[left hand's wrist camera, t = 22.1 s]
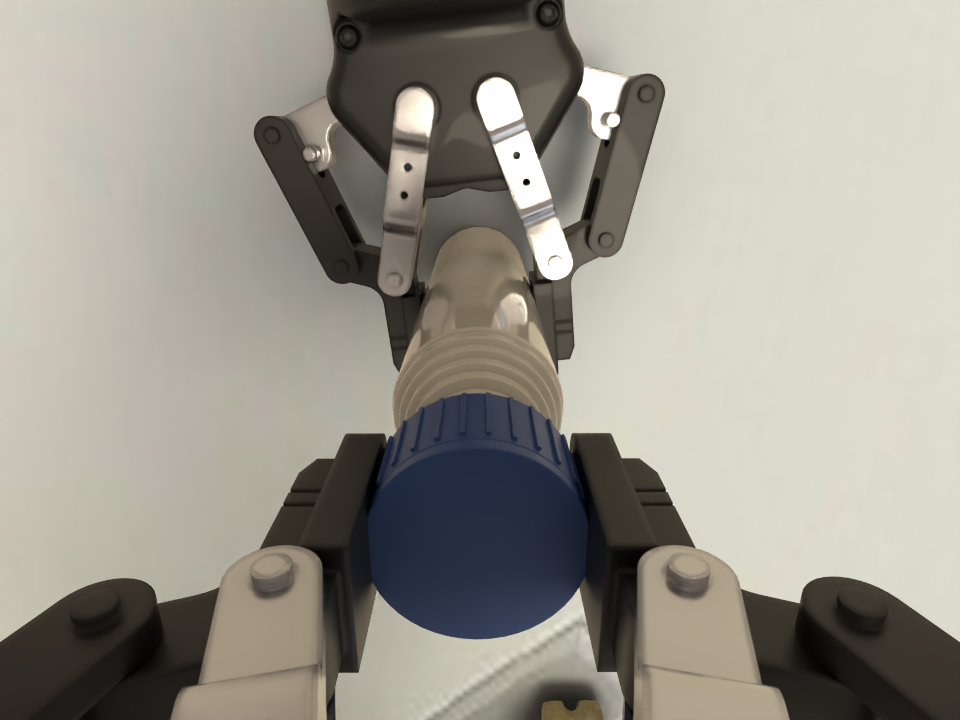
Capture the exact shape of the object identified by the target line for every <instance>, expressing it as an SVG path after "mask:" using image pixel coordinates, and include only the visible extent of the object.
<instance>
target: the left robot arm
mask: <svg viewBox="0 0 960 720" xmlns="http://www.w3.org/2000/svg"><path fill="white" fill-rule="evenodd" d="M386 446H387V442H386V436H385V434H346V435H345V436H344V439H343V441H342V443H341V446H340V448H339V450H338V452H337V455H336V457H335V459H317V460H315V461H314V462H313V463H311V464H310V465H309V466H307V467H306V468H305V469H304V470H302V471H301V472H300V473H299V474H298V476H297V478H296V480H295V482H294V484H293V486H292V488H291V492H290V493H288V495H287V497H286V499H285V501H284V506H283V507H281V509H280V511H279V513H278V515H277V517H276V519H275V521H274V522H273V524H272V526H271V528H270V530H269V532H268V534H267V536H266V538H265V540H264V542H263V544H262V546H261V548H260V550H257V551H255V552H252V553H250V554H248V555H246V556H244V557H243V558H241V559H240V560H238V561H237V562H235V563H234V564H233V565H232V566H231V567H230V568H229V569H228V570H227V571H226V573H225V574H224V576H223V578H222V581H221V584H220V587H219V588H217V589H214V590H212V591H209V592H206V593H203V594H199V595H195V596H190V597H186V598H181V599H177V600H172V601H168V602H163V603H159V604H158V603H157V599H156V595H155V591H154V589H153V588H152V587H151V586H150V585H149V584H147V583H146V582H143V581H141V580H137V579H129V578H121V579H112V580H106V581H102V582H98V583H95V584H92V585H89V586H86V587H84V588H81V589H79V590H77V591H75V592H73V593H71V594H69V595H67V596H66V597H64V598H63V599H61V600H60V601H58V602H57V603H55V604H54V605H52V606H51V607H50V608H48V609H47V610H45V611H44V612H42V613H41V614H40V615H38V616H37V617H35V618H34V619H33V620H31V621H30V622H28V623H27V624H25V625H24V626H23V627H21V628H20V629H18V630H17V631H15V632H14V633H13V634H11V635H10V636H8V637H7V638H5V639H4V640H3V641H1V642H0V720H338V712H337V702H336V692H335V685H336V681H337V677H338V673H358V672H359V668H360V663H361V659H362V654H363V650H364V645H365V641H366V636H367V632H368V627H369V622H370V618H371V613H372V609H373V604H374V600H375V595H376V591H377V589H376V587H375V586H374V584H373V582H372V576H371V562H370V549H369V535H368V520H367V514H368V511H369V507H370V504H371V500H372V497H373V494H374V490H375V487H376V480H377V476H378V473H379V469H380V466H381V463H382V459H383V456H384V452H385V449H386ZM570 453H573V457H574V461H575V464H576V468H577V471H578V475H579V478H580V482H581V486H582V489H583V493H584V496H585V503H584V505H585V509H586V513H587V516H588V521H589V525H588V540H587V554H586V569H585V577H584V579H583V581H582V583H581V585H580V587H579V588H580V593H581V597H582V602H583V607H584V611H585V616H586V621H587V625H588V630H589V635H590V640H591V644H592V649H593V654H594V658H595V663H596V668H597V672H617V674H618V678H619V682H620V686H621V690H622V693H623V696H624V702H623V712H622V720H960V642H959V641H957V640H956V639H955V638H953V637H952V636H950V635H949V634H947V633H946V632H945V631H943V630H942V629H940V628H939V627H937V626H936V625H935V624H933V623H932V622H930V621H929V620H927V619H926V618H925V617H923V616H922V615H920V614H919V613H918V612H916V611H915V610H913V609H912V608H910V607H909V606H908V605H906V604H905V603H903V602H902V601H900V600H899V599H898V598H896V597H894V596H893V595H891V594H890V593H888V592H886V591H884V590H882V589H880V588H878V587H876V586H873V585H871V584H868V583H865V582H862V581H859V580H855V579H851V578H844V577H822V578H818V579H815V580H813V581H811V582H809V583H808V584H807V585H806V586H805V587H804V589H803V592H802V596H801V600H800V603H795V602H790V601H786V600H781V599H777V598H772V597H768V596H763V595H759V594H755V593H751V592H748V591H745V590H743V589H741V588H740V584H739V581H738V578H737V576H736V574H735V573H734V571H733V570H732V569H731V568H730V567H729V566H728V565H727V564H726V563H725V562H723V561H722V560H720V559H719V558H717V557H716V556H714V555H712V554H710V553H708V552H705V551H703V550H700V549H696V548H695V546H694V544H693V542H692V540H691V538H690V536H689V534H688V532H687V530H686V528H685V526H684V524H683V522H682V520H681V518H680V516H679V514H678V512H677V510H676V508H675V506H673V502H672V500H671V498H670V496H669V495H668V493H667V492H666V489H665V487H664V485H663V483H662V481H661V479H660V477H659V475H658V473H657V472H656V471H655V470H653V469H652V468H651V467H650V466H648V465H647V464H646V463H644V462H643V461H642V460H641V459H639V458H621V456H620V453H619V451H618V449H617V446H616V444H615V442H614V439H613V437H612V435H611V434H610V433H572V435H571V440H570Z"/></svg>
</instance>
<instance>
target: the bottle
mask: <svg viewBox="0 0 960 720" xmlns="http://www.w3.org/2000/svg"><path fill="white" fill-rule="evenodd" d="M486 392H488V393H490V394H494V395H500V396H505V397H508V398H509V397H513V399H514V400H517V401H519V402H521V403H524V404H526V405H528V406H530V405H531V406H533V407H534V408H535V410H536V411H538V412H539V413H541V414H542V415H543V416H544V417H545V418H547V419H548V418H550V419H551V420H552V423H553V425H554V427H555V428H556V429H557V430H558V431H560V428H561V422H562V415H563V394H562V389H561V385H560V381H559V378H558V375H557V372H556V368H555V365H554V362H553V359H552V356H551V352H550V349H549V346H548V343H547V339H546V336H545V333H544V330H543V327H542V323H541V320H540V317H539V314H538V310H537V307H536V304H535V301H534V298H533V294H532V291H531V288H530V285H529V282H528V278H527V275H526V272H525V269H524V265H523V262H522V259H521V256H520V254H519V251H518V249H517V248H516V246H515V245H514V243H513V242H512V241H511V240H510V239H509V238H508V237H507V236H505V235H504V234H503V233H501V232H499V231H497V230H494V229H491V228H487V227H471V228H467V229H463V230H461V231H459V232H457V233H455V234H454V235H452V236H451V237H450V238H449V239H448V240H447V241H446V242H445V243H444V244H443V246H442V247H441V249H440V251H439V253H438V256H437V259H436V262H435V265H434V268H433V271H432V274H431V277H430V280H429V283H428V286H427V289H426V292H425V295H424V298H423V302H422V305H421V308H420V311H419V314H418V317H417V320H416V323H415V326H414V329H413V332H412V335H411V338H410V341H409V345H408V348H407V351H406V354H405V357H404V360H403V363H402V366H401V369H400V372H399V375H398V378H397V381H396V385H395V389H394V394H393V415H394V422H395V427H396V431H397V430H398V429H399V428H400V426H401V422H402V421H403V420H405V421H406V420H407V419H409V418H410V417H411V416H412V415H413V414H415V413H416V412H417V411H418V410H419V408H420V407H423V408H424V407H425V406H427V405H429V404H431V403H434V402H436V401H438V400H439V399H440V398H442V397H444V398H447V397H451V396H455V395H461V394H462V393H467V394H470V393H485V394H486Z"/></svg>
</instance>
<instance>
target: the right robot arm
mask: <svg viewBox="0 0 960 720" xmlns="http://www.w3.org/2000/svg"><path fill="white" fill-rule="evenodd" d="M327 5H328V11H329V17H330V23H331V29H332V35H333V41H334V60H333V66H332V70H331V73H330V76H329V79H328V82H327V95H326V96H324V97H322V98H320V99H318V100H316V101H314V102H312V103H310V104H308V105H306V106H304V107H302V108H300V109H298V110H296V111H294V112H292V113H290V114H288V115H286V116H266V117H263V118H261V119H260V120H259V121H258V122H257V124H256V126H255V129H254V138H255V141H256V143H257V145H258V147H259V149H260V151H261V153H262V155H263V156H264V158H265V160H266V162H267V164H268V166H269V168H270V170H271V171H272V173H273V175H274V177H275V179H276V181H277V183H278V185H279V186H280V188H281V190H282V192H283V194H284V196H285V198H286V200H287V201H288V203H289V205H290V207H291V209H292V211H293V213H294V215H295V216H296V218H297V220H298V222H299V224H300V226H301V228H302V230H303V231H304V233H305V235H306V237H307V239H308V241H309V243H310V245H311V246H312V248H313V250H314V252H315V254H316V256H317V258H318V260H319V261H320V263H321V265H322V267H323V269H324V271H325V273H326V274H327V276H328V277H329V278H330V279H331V280H332V281H334V282H336V283H339V284H346V283H349V282H351V283H355V284H360V285H364V286H368V287H370V288H372V289H374V290H375V291H377V292H378V293H379V295H380V296H381V298H382V300H383V302H384V308H385V314H386V320H387V326H388V332H389V338H390V344H391V349H392V350H391V351H392V357H393V363H394V365H395V367H396V368H397V370H398V372H400V369H401V366H402V363H403V360H404V357H405V354H406V351H407V348H408V345H409V341H410V338H411V335H412V332H413V329H414V326H415V323H416V320H417V317H418V314H419V311H420V308H421V305H422V302H423V298H424V295H425V292H426V290H425V283H424V282H418V275H417V269H418V262H419V255H420V248H421V241H422V234H423V228H424V222H425V218H426V212H427V205H428V198H437V197H444V196H447V195H449V194H452V193H454V192H457V191H459V190H462V189H465V188H469V189H475V190H482V191H488V192H492V191H501V190H509V191H510V194H511V197H512V199H513V202H514V205H515V207H516V210H517V212H518V215H519V218H520V220H521V223H522V225H523V228H524V231H525V233H526V236H527V239H528V241H529V244H530V247H531V249H532V252H533V265H534V271H529V281H530V288H531V291H532V294H533V298H534V301H535V304H536V307H537V310H538V314H539V317H540V320H541V323H542V327H543V330H544V333H545V336H546V339H547V343H548V346H549V349H550V352H551V356H552V359H553V362H554V365H555V368H556V372H557V375H558V360H565V359H570V357H571V354H572V352H573V349H574V332H573V313H572V296H571V280H572V276H573V274H574V273H575V271H576V270H577V269H578V268H579V267H580V266H582V265H583V264H585V263H587V262H589V261H592V260H594V259H596V258H598V257H610V256H613V255H614V254H616V253H617V252H618V251H619V250H620V248H621V247H622V244H623V241H624V237H625V234H626V230H627V227H628V223H629V220H630V216H631V213H632V209H633V206H634V202H635V199H636V195H637V192H638V188H639V185H640V181H641V178H642V174H643V170H644V167H645V163H646V160H647V156H648V153H649V149H650V146H651V142H652V139H653V135H654V132H655V128H656V125H657V121H658V118H659V114H660V111H661V107H662V104H663V100H664V96H665V88H664V85H663V82H662V81H661V79H660V78H659V77H657V76H655V75H653V74H640V75H636V76H627V75H623V74H618V73H614V72H610V71H605V70H601V69H597V68H592V67H588V66H584V64H583V59H582V56H581V54H580V52H579V50H578V48H577V47H576V45H575V43H574V42H573V40H572V38H571V36H570V33H569V31H568V27H567V24H566V18H565V8H564V0H327ZM576 97H578V98H579V99H581V100H582V101H583V102H584V104H585V105H586V108H587V111H588V117H587V125H588V129H589V131H590V132H591V134H592V135H593V136H595V137H597V138H600V139H601V143H600V147H599V150H598V154H597V158H596V162H595V166H594V170H593V174H592V178H591V181H590V185H589V189H588V193H587V197H586V201H585V205H584V208H583V212H582V216H581V220H580V221H579V222H576V223H574V224H572V225H570V226H568V227H566V228H564V229H562V227H561V225H560V222H559V219H558V216H557V213H556V210H555V206H554V203H553V200H552V197H551V194H550V191H549V188H548V185H547V183H546V180H545V177H544V174H543V171H542V169H541V166H540V163H539V160H540V158H541V156H542V155H543V153H544V151H545V149H546V148H547V146H548V144H549V143H550V141H551V139H552V137H553V136H554V134H555V132H556V130H557V129H558V127H559V125H560V124H561V122H562V120H563V118H564V117H565V115H566V113H567V112H568V110H569V108H570V106H571V105H572V103H573V101H574V99H575V98H576ZM340 125H342V126H343V127H344V128H345V129H346V130H347V131H348V132H349V133H350V134H351V135H352V137H353V138H354V139H355V140H356V141H357V142H358V143H359V144H360V145H361V146H362V147H363V149H364V150H365V151H366V152H367V153H368V154H369V155H370V156H371V157H372V158H373V159H374V161H375V162H376V163H377V164H378V165H379V166H380V167H381V168H382V169H383V170H384V172H385V173H386V174H387V175H388V180H387V189H386V197H385V205H384V213H383V237H382V245H381V248H380V247H376V246H372V245H368V244H366V243H365V241H364V239H363V237H362V235H361V233H360V231H359V229H358V227H357V225H356V223H355V221H354V219H353V217H352V215H351V213H350V211H349V209H348V207H347V205H346V203H345V201H344V199H343V197H342V195H341V193H340V191H339V189H338V187H337V185H336V183H335V181H334V179H333V178H332V176H331V174H330V172H329V170H328V169H329V168H331V167H332V166H333V165H334V164H335V162H336V160H337V156H338V152H337V148H336V144H335V133H336V130H337V128H338V127H339V126H340Z"/></svg>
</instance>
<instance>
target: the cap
mask: <svg viewBox="0 0 960 720" xmlns="http://www.w3.org/2000/svg"><path fill="white" fill-rule="evenodd" d="M584 503H585V496H584V493H583V489H582V486H581V482H580V478H579V475H578V471H577V468H576V464H575V461H574V457H573V453H570V451H569V448H568V444H567V441H566V437H565V435H564V434H562V435H561V434H560V433H559V431H558V430H557V429H556V428H555V427H554V425H553V423H552V420H551V419H550V418H548V419H547V418H545V417H544V416H543V415H542V414H541V413H539V412H538V411H536V410H535V408H534V407H533V406H531V405H530V406H528V405H526V404H524V403H521V402H519V401H517V400H514V399H513V397H509V398H508V397H505V396H500V395H494V394H490V393H488V392H486V394H485V393H470V394H467V393H462V394H461V395H455V396H451V397H447V398H444V397H442V398H440V399H439V400H438V401H436V402H434V403H431V404H429V405H427V406H425V407H424V408H423V407H420V408H419V410H418V411H417V412H416V413H415V414H413V415H412V416H411V417H410V418H409V419H407V420H406V421H405V420H403V421H402V422H401V426H400V428H399V429H398V430H397V432H396V433H395V435H394V436H393V437H392V436H390V437H389V439H388V442H387V446H386V449H385V452H384V456H383V459H382V463H381V466H380V469H379V473H378V476H377V480H376V487H375V490H374V494H373V497H372V500H371V504H370V507H369V511H368V514H367V520H368V535H369V549H370V562H371V576H372V582H373V584H374V586H375V587H376V589H377V590H378V592H379V593H380V595H381V596H382V597H383V598H384V599H385V601H386V602H387V603H388V604H389V605H390V606H391V607H392V608H393V609H395V610H396V611H397V612H398V613H399V614H401V615H402V616H403V617H405V618H406V619H408V620H409V621H411V622H413V623H415V624H417V625H418V626H420V627H422V628H425V629H427V630H430V631H432V632H435V633H439V634H442V635H446V636H450V637H456V638H463V639H492V638H498V637H505V636H509V635H512V634H516V633H519V632H522V631H525V630H527V629H530V628H532V627H534V626H536V625H538V624H540V623H542V622H544V621H545V620H547V619H548V618H550V617H551V616H553V615H554V614H555V613H557V612H558V611H559V610H560V609H561V608H562V607H564V606H565V604H566V603H567V602H568V601H569V600H570V599H571V598H572V597H573V595H574V594H575V592H576V591H577V589H578V588H579V587H580V585H581V583H582V581H583V579H584V577H585V569H586V554H587V540H588V525H589V521H588V516H587V513H586V509H585V505H584Z"/></svg>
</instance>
